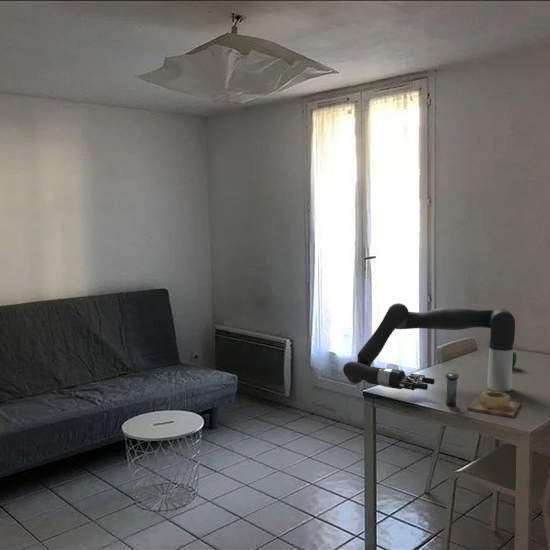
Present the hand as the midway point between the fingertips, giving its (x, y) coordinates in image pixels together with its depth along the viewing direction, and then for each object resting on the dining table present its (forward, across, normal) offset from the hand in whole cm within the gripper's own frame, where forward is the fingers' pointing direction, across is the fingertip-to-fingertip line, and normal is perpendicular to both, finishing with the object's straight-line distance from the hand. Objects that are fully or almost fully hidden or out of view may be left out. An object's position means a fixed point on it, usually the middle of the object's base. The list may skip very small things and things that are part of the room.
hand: (430, 384), depth 230 cm
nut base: (+23, +6, +7) cm, 24 cm away
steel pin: (+8, 0, +7) cm, 11 cm away
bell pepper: (+15, +67, +7) cm, 70 cm away
